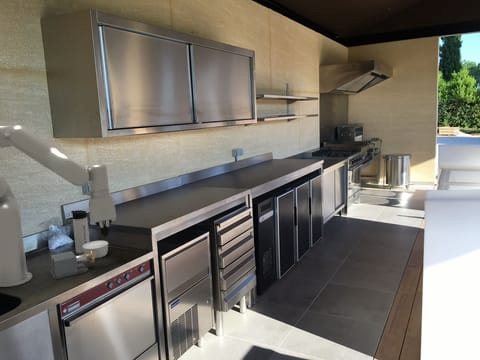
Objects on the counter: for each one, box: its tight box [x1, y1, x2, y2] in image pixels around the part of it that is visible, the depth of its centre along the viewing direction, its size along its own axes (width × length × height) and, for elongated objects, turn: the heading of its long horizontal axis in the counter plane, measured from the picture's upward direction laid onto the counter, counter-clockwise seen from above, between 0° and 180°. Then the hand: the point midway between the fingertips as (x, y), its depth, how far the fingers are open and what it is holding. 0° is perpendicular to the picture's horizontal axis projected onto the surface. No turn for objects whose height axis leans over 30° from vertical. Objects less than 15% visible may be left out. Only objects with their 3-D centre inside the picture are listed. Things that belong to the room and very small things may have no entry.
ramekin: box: [82, 240, 109, 259], centre depth 188 cm, size 11×11×5 cm
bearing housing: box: [49, 250, 89, 280], centre depth 168 cm, size 13×9×7 cm
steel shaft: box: [75, 250, 96, 264], centre depth 171 cm, size 11×5×5 cm, turn 123°
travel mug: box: [71, 209, 91, 255], centre depth 191 cm, size 6×7×20 cm
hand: (105, 235), depth 175 cm, fingers closed
